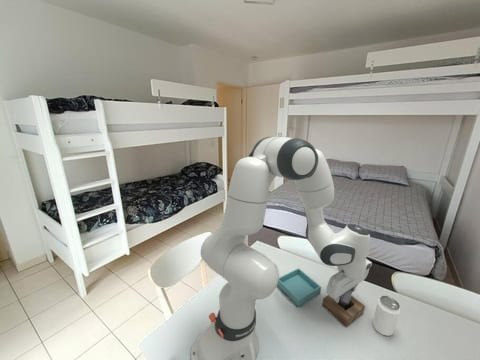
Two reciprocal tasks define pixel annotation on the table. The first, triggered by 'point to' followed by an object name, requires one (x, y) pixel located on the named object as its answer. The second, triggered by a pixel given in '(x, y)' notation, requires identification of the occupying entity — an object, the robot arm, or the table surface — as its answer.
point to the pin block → (340, 314)
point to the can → (386, 315)
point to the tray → (298, 287)
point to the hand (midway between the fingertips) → (344, 295)
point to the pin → (345, 300)
